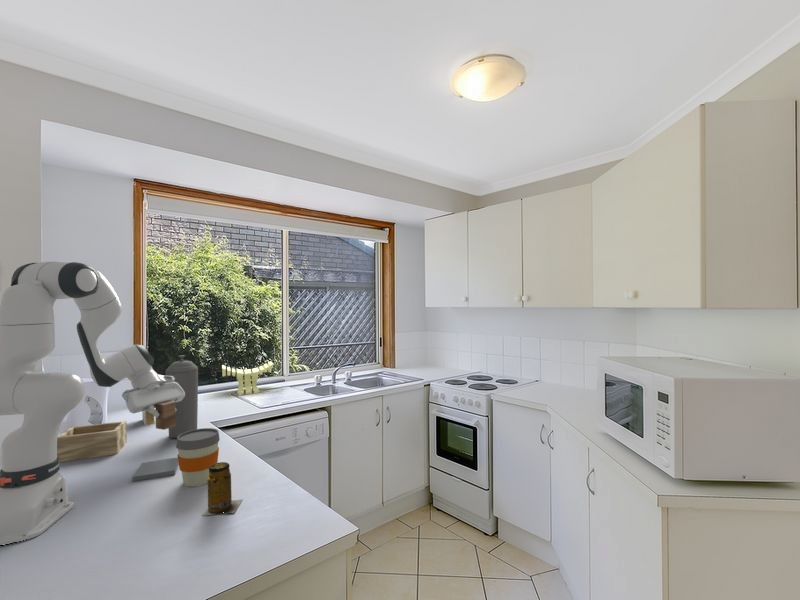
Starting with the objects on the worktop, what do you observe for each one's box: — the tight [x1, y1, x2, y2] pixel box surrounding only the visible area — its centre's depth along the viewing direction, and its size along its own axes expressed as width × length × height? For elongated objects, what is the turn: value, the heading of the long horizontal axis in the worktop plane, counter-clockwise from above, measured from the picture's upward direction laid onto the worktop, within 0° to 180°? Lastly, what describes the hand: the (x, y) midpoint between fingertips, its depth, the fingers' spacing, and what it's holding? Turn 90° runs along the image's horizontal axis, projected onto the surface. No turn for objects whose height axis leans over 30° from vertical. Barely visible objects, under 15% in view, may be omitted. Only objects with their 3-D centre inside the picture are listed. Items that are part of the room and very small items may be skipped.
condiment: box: [202, 461, 243, 516], centre depth 109 cm, size 7×8×12 cm
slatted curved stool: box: [221, 361, 274, 395], centre depth 251 cm, size 30×16×18 cm, turn 114°
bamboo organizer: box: [57, 420, 128, 463], centre depth 152 cm, size 13×18×9 cm
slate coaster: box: [132, 457, 179, 482], centre depth 134 cm, size 12×12×2 cm
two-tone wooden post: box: [141, 368, 155, 426], centre depth 191 cm, size 8×12×26 cm
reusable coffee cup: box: [175, 427, 221, 487], centre depth 126 cm, size 12×13×15 cm
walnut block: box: [155, 401, 176, 430], centre depth 143 cm, size 4×4×9 cm
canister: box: [165, 354, 199, 439], centre depth 170 cm, size 13×13×35 cm
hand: (166, 414), depth 143 cm, fingers closed on walnut block, 4 cm apart
